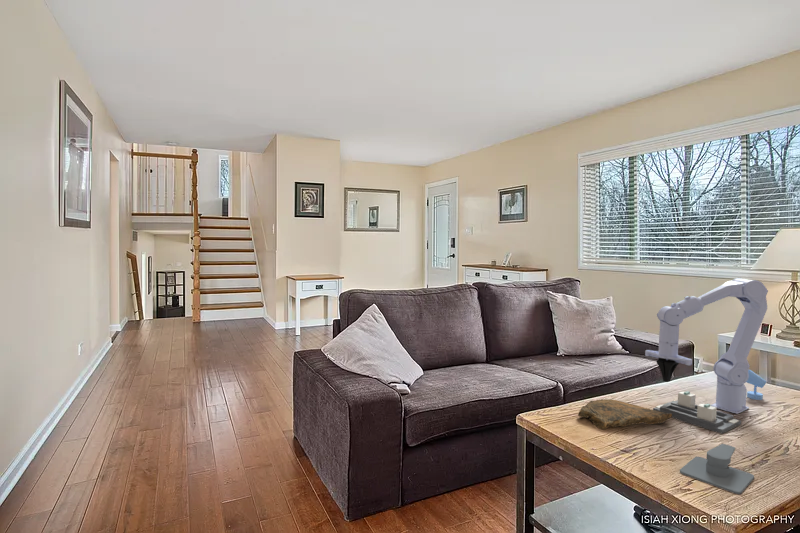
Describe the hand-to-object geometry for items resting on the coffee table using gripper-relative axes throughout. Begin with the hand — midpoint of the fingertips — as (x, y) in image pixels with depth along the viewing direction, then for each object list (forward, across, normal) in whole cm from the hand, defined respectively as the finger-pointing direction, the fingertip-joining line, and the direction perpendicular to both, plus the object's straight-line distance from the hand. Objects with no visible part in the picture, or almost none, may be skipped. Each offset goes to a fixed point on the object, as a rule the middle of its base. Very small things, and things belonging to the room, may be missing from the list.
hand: (666, 381), depth 156 cm
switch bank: (+8, +11, -3) cm, 14 cm away
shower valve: (+9, +31, -36) cm, 48 cm away
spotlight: (+8, +13, +35) cm, 38 cm away
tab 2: (+7, +15, -7) cm, 18 cm away
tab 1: (+7, +7, 0) cm, 10 cm away
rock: (+9, 0, -25) cm, 27 cm away
